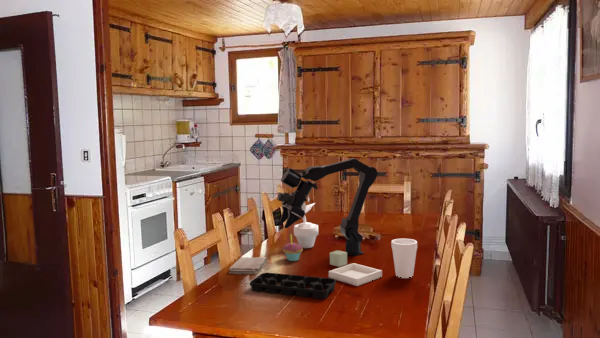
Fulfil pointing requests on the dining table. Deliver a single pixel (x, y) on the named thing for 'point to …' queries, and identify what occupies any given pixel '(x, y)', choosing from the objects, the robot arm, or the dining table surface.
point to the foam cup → (404, 256)
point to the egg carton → (293, 285)
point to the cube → (338, 258)
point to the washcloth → (248, 265)
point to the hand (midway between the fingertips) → (282, 225)
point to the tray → (355, 274)
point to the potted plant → (306, 229)
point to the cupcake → (292, 250)
